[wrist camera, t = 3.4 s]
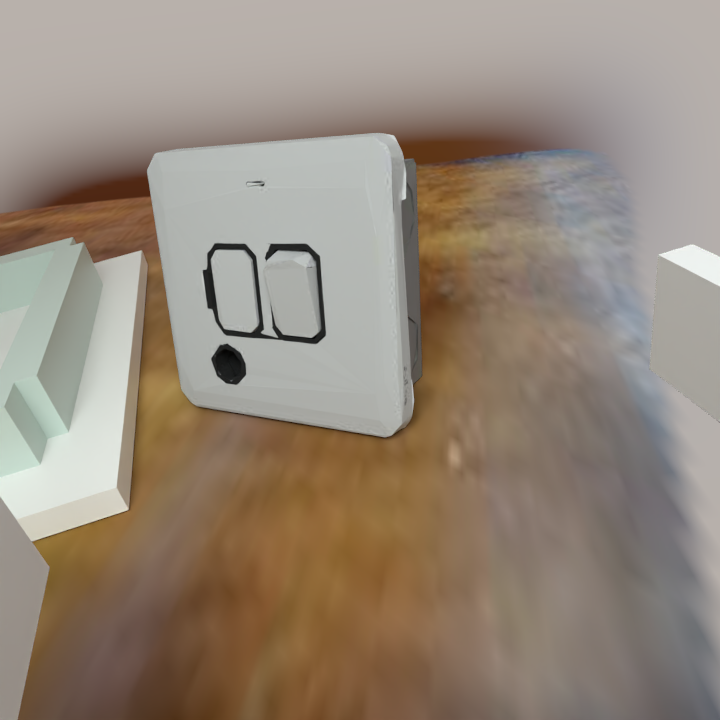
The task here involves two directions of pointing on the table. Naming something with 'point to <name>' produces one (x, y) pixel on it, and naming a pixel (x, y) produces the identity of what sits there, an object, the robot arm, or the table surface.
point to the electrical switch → (294, 278)
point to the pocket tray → (68, 383)
